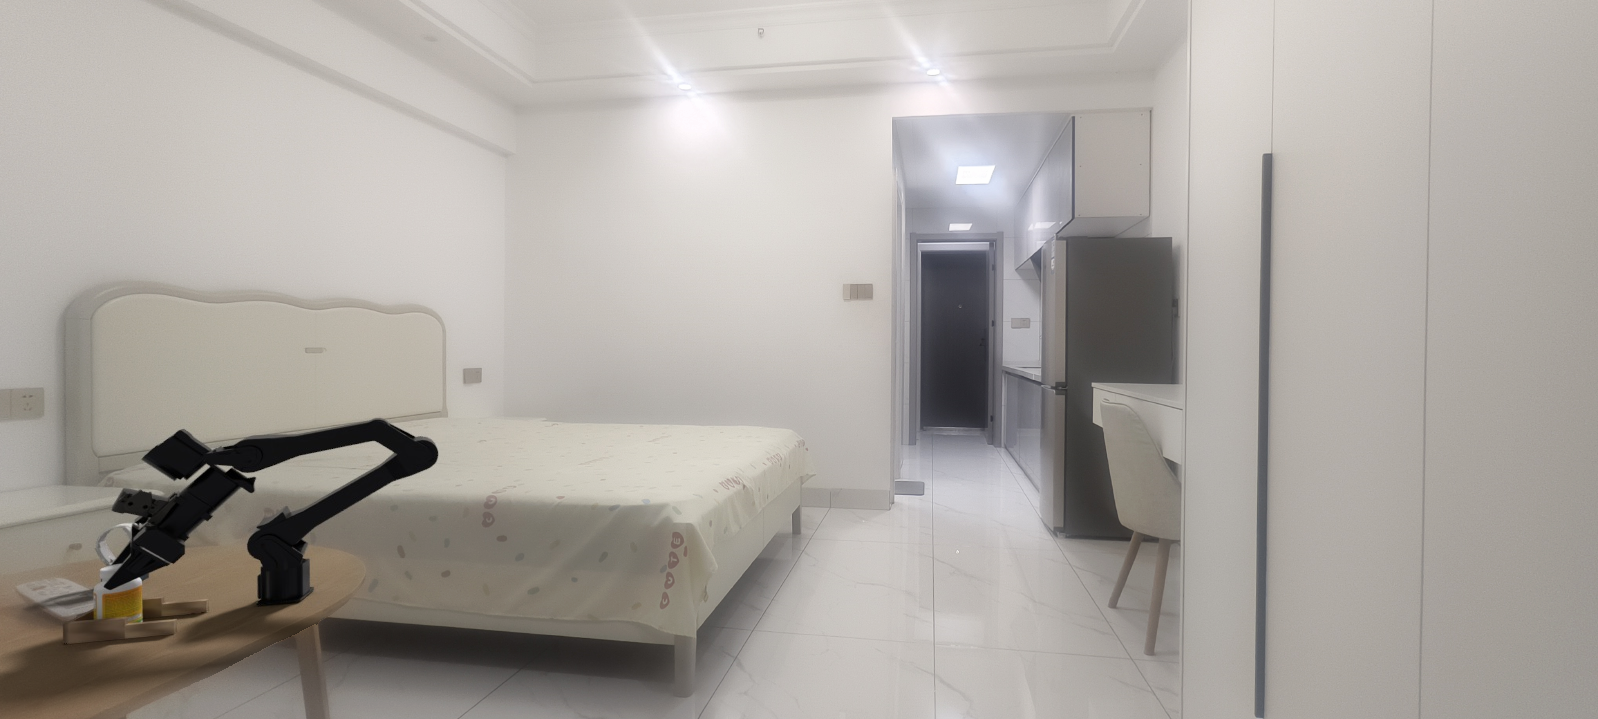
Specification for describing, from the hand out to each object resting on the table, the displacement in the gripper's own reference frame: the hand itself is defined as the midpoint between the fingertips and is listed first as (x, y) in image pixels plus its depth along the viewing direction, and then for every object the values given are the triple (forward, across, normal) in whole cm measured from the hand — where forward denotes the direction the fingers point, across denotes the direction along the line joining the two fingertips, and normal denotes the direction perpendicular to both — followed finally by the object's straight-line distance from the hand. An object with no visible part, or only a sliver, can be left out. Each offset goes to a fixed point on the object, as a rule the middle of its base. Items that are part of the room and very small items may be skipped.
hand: (107, 580), depth 105 cm
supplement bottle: (+5, 0, +6) cm, 8 cm away
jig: (+2, +2, +9) cm, 9 cm away
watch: (+4, -28, +7) cm, 29 cm away
